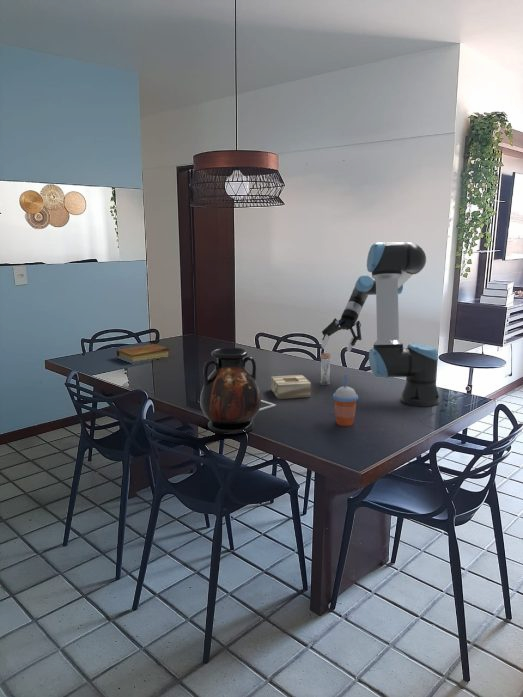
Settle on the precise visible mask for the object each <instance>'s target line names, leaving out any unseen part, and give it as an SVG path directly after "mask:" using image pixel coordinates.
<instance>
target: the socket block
mask: <svg viewBox="0 0 523 697" xmlns="http://www.w3.org/2000/svg"><path fill="white" fill-rule="evenodd" d="M270 378H271V389H270V390H271V391H272V392H273V393H274V395H275V397H276V398H277V399H278V400H280V399H285V400H286V399H296V398H297V399H298V398H311V397H312V395H311V394H312V383H311V381H310V380H309V379H307V378H306V377H305V376H304V375H303V374H295V375H294V374H293V375H292V374H290V375H277V376H271V377H270Z"/></svg>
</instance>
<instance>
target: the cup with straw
mask: <svg viewBox="0 0 523 697" xmlns="http://www.w3.org/2000/svg"><path fill="white" fill-rule="evenodd" d="M332 399H333V400H334V404H333V405H334V415H335V422H336V425H338V426H341V427H351V426H353V425H354V420H355V416H356V409H357V401H358V400H359V395H358V394H357V393H356V391H355V389H354V388H352V387H350V386H348V375H347V374H345V375H344V386H340V387H338V388H337V389H336V390H335V392H334V393H333V395H332Z"/></svg>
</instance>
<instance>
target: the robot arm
mask: <svg viewBox="0 0 523 697" xmlns="http://www.w3.org/2000/svg"><path fill="white" fill-rule="evenodd" d="M426 263H427V256H426V253H425V250H424V249H423V248H422V247H421V246H420V245H418V244H416V243H414V242H410V241H407V242H406V241H405V242H404V241H403V242H400V241H399V242H398V241H395V242H393V241H389V242H387V241H383V242H382V241H381V242H375V243H373V244H372V245H371V247H369V250H368V253H367V258H366V270H367V272H368V273H371V276H370V275H368V274H362V275H361V276H359V277H358V278H357V280H356V282H355V285H354V288H353V290H352V292H351V295H350V297H349V299H348V302H347V303H346V304H345V305H346V306H345V307H344V310H343V312H342V314H341V317H340V318H339V319H337V318H334V319H333V320H332V322H330V324H328V325H327V326H326V327H325V328H324V329H322V331H321V333H322V335H323V337H322V338H321V340H322V342H321V344H320V346H321V348H322V349H324V350H325V348H326V346H327V344H328V342H329V339H330V336H332V335H333V334H335V333H337V332H338V331H341V330H343V331H344V330H346V331H349V330H350V333H351V335H352V337H351V338H350V340H349V342H348V345H347V347H346V351H347V352H348V353H351V351H352V348H353V347H355V345H356V343H357V341H362V334H361V326H362V323H361V321H360V320H358V319H359V316H360V313H361V311H362V309H363V307H364V305H365V303H366V300H367V299H368V296H371V295H373V296H376V297H375V301H376V302H375V303H376V305H375V307H376V308H375V309H376V341H375V342H374V343H373V347H372V348H370V350H369V351H368V363H369V366H370V370H371V372H372V375H373V376H375V377H377V378H384V379H387V378H405V377H406V378H405V383H404V386H403V389H402V392H401V393H400V401H401V402H402V403H404V404H407V405H410V406H417V407H433V406H436V405H439V403H440V393H439V390H438V388H437V370H438V368H437V367H438V361H439V359H438V350H437V349H436V348H435V347H432V346H430V345H426V344H421V343H408V345H407V347H404V343H403V342H402V341H401V340H400V331H399V330H400V328H399V327H400V325H399V322H400V321H399V295H400V294H402V293H403V290H404V284H405V283H406V282H407V281H408V280H409V279H410V278H411V277H412V276H413V275H417V274H419V273H420V272H422V270H423V269H424V268H425V266H426ZM353 327H356V333H357V334H356V333H355V331H354V329H353Z"/></svg>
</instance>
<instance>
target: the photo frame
mask: <svg viewBox="0 0 523 697" xmlns="http://www.w3.org/2000/svg"><path fill="white" fill-rule="evenodd" d="M261 403H264V404H266V405H267V406H264V407H260V409H259V411H263V410H267V409H270V408H273V407H276V406H277V404H276V403H275V404H274V403H272V402H269V401H266V400H262V399H261Z"/></svg>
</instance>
